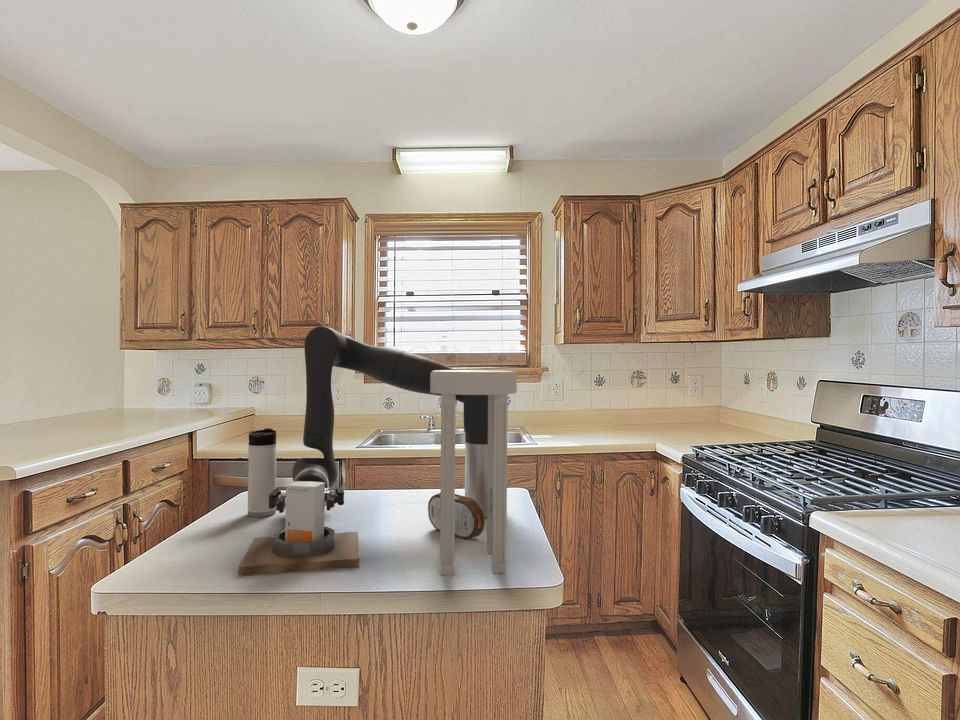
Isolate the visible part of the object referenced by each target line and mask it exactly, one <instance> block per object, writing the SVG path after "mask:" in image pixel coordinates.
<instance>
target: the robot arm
mask: <svg viewBox="0 0 960 720" xmlns="http://www.w3.org/2000/svg"><path fill="white" fill-rule="evenodd" d="M304 361H305V379H306V380H305V381H306V382H305V383H306V386H305V387H306V396H305V398H306V399H305V401H306V402H305V416H304V426H303V435H302V436H303V438H302V439H303V440H302V442H303V443H302V444H303V445H304V447H306V448H309V449H314V450H317V451H319V452H321V454H322V456H323V457H301V458H298V459H297V460H296V461H295V462H294V464H293V466H292V473H291V474H292V475H291V476H292V481H293V482H295V481H304V482H307V481H312V482H324V483H325V500H324V507H326V511H331V509H333V508H335V505H336V504H337V505H338V506H344V504H345V490H344V487H343V486H341V485H338V486H337V487H335V488H334V490H333V489H332V490H330V487H332V486H333V485H334V484H335V483H336V481H337V478H338V469H337V464H336V458H335V455H334V446H333V445H334V444H333V437H334V428H335V427H334V426H335V408H334V407H335V406H334V399H333V393H332V392H333V391H332V373H333V367H336V368H339V369H346V370H351V371H355V372H359V373H362V374H365V375H367V376H369V377H371V378H373V379H374V380H377V381H379V382H382V383H383V384H387V385H389V386H391V387H395V388H399V389H402V390H405V391H408V392H412V393H413V392H414V393H419V394H424V395H432V396H440V397H441V394H437V393H430V375H431V372H432V371H434V370H456V368H455V369H454V368H451V367H449V366H447V365H445V364H443V363H441V362H438V361H436V360H433V359H430V358H427V357H424V356H423V355H419V354H416V353H413V352H410V351H406V350H403V349H399V348H398V349H397V348H392V347H387V346H386V347H384V346H375V345H369V344H367V343H364V342H361V341H359V340H356V339H353V338H351V337H349V336H346V335H345V334H343V333H341V332H339V331H337V330H335V329H334V328H331V327H329V326H326V325H321V326H320V325H318V326H315V327H314V328H312V329H311V330H310V331H308V333H307V334H306V337H305V339H304ZM456 401H458V402H460V403H463V431H464V437H465V438H464V442H465V445H464V496H465V497H469V498H472V499H474V500H475V501H476V502H477V503H478V504H479V506H480V507H481V509H482V511H483V514H484V518H487V476H488V395H456ZM293 482H292V483H293ZM275 507H276V511H278V513H279V514H283V513H284V512H285V511H286V492H282V490H280V489H279V488H276V489H274V490H273V491H272V492H271V493H270V495H269V508H271V509H273V508H275Z"/></svg>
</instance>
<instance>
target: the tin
mask: <svg viewBox="0 0 960 720" xmlns="http://www.w3.org/2000/svg"><path fill="white" fill-rule="evenodd" d="M440 498H441V492H439V493H436V494H434V495H432V496H431V497H430V498H429V500H428V504H427V512H428V513H427V515H428V519H429V522H430V523H431V525H432V526H433V528H435V530H436V531H438V530H439V531H438V532H440ZM485 522H486V521H485V517H484V514H483V511H482V509H481V507H480V506H479V504H478V503H477V502H476V501H475V500H474V499H472V498H469V497H465V495H461V494H456V493H455V523H454V537H456V536H457V537H456V538H459V537H460V538H459V539H462V538H463V540H471V539H473V538H478V537H479V536H481V535H482V533H483V530H484V528H485Z"/></svg>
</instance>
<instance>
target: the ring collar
mask: <svg viewBox="0 0 960 720" xmlns="http://www.w3.org/2000/svg"><path fill="white" fill-rule="evenodd" d="M335 533H336V531H335V530H334V529H333V528H330V527H329V526H325V525H324V537H323V538H322V539H317V540H313V541H307V542H289V541H285V528H284V529H281V530H279V531H277V532H275V533H273V535H272V537H273V538H272V553H274V554H275V555H277V556H279V557H287V558H304V557H312V556H316V555H320V554H324V553H327V552H328V551H330V550H332V549H333V548H334V542H335Z"/></svg>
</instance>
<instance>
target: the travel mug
mask: <svg viewBox="0 0 960 720" xmlns="http://www.w3.org/2000/svg"><path fill="white" fill-rule="evenodd" d="M247 448H248V450H247V451H248V452H247V453H248V454H247V456H248V457H247V462H248V463H247V474H248V475H247V516H249V517H250V518H265V517H266V518H267V517H270V516H273V515H275V514H276V507H275V508H273V509H271V508H269V495H270V493H271V492H272V491H273V490H274V489H277V430H274V429H273V428H268V427H267V428H264V429H257V430H253V431H251V432H249V433H248V447H247Z"/></svg>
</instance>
